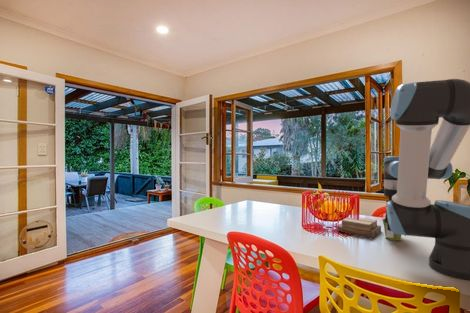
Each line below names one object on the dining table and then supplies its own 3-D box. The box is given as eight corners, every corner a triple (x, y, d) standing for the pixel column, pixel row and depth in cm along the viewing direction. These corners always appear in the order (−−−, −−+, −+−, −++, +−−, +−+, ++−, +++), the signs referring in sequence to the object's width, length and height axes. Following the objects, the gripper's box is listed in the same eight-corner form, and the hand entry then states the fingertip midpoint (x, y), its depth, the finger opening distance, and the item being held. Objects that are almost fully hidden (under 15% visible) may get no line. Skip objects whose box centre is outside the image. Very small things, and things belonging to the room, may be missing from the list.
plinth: (371, 238, 121) (371, 226, 121) (337, 231, 132) (337, 220, 132) (381, 231, 133) (381, 220, 133) (349, 225, 144) (349, 215, 144)
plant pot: (404, 237, 123) (404, 219, 123) (405, 243, 114) (405, 224, 114) (381, 234, 127) (381, 217, 127) (381, 240, 119) (381, 221, 119)
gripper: (396, 191, 110) (396, 242, 110) (407, 187, 127) (407, 230, 127) (377, 190, 115) (377, 238, 115) (390, 185, 132) (390, 227, 132)
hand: (393, 234), depth 121 cm, fingers open, 11 cm apart
